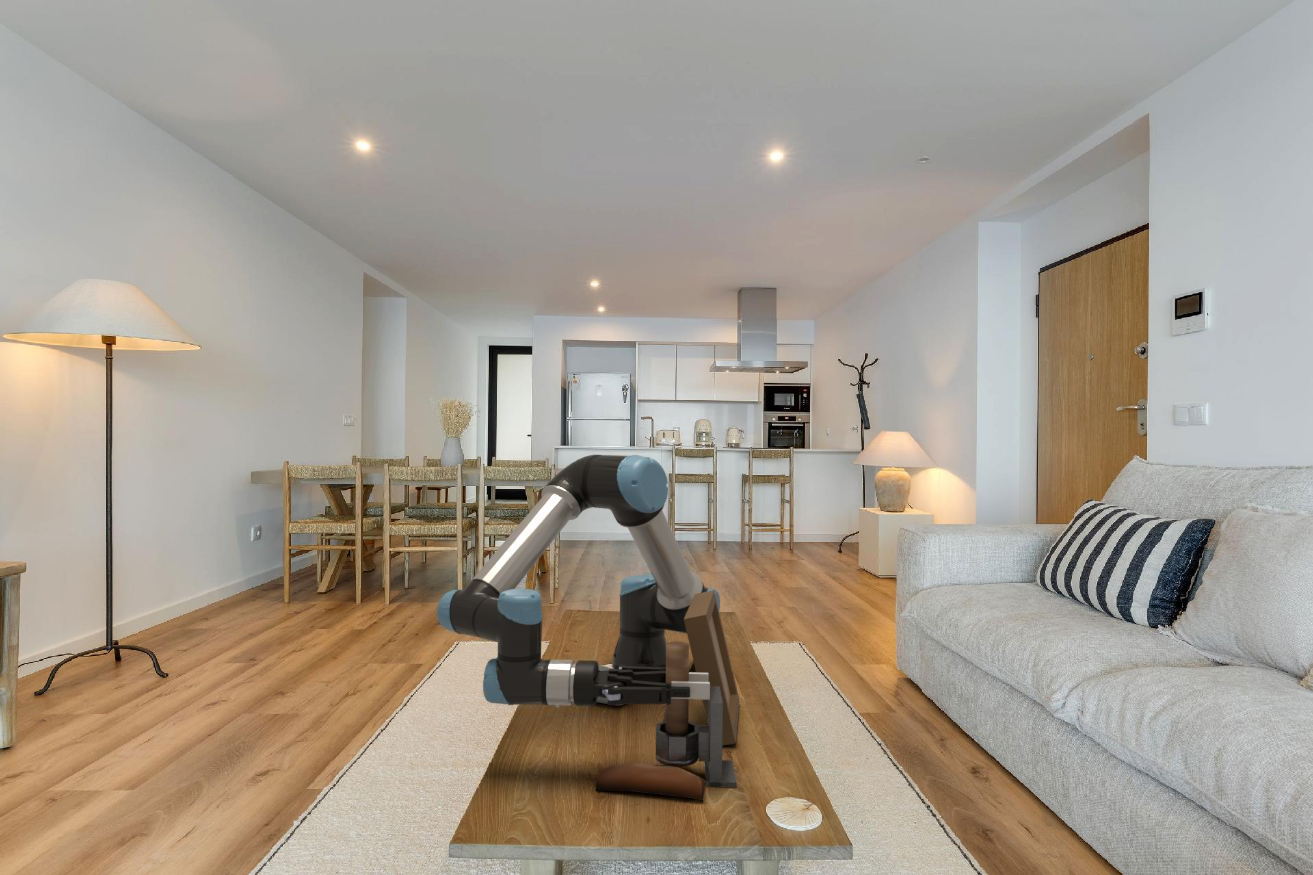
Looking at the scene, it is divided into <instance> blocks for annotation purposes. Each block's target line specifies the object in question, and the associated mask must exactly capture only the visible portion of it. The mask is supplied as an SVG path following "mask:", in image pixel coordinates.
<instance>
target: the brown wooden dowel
mask: <svg viewBox="0 0 1313 875" xmlns="http://www.w3.org/2000/svg"><path fill="white" fill-rule="evenodd" d="M689 666H690V644H689V642H688V643H687V642H685V641H669V642H667V644H666V683H669V684H671V686H672V681H686V682H689ZM689 701H690V699H671V704H669V705H667V703H666V704H665V709H666V719H665V733H666V734H668V735H676V736H685V735H688V721H690V720H689V716H690V715H689V714H690V713H689V708H690V707H689V706H690V705H689V704H690V703H689Z"/></svg>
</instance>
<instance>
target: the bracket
mask: <svg viewBox="0 0 1313 875" xmlns="http://www.w3.org/2000/svg"><path fill="white" fill-rule="evenodd" d="M722 725H723V702H722V696H721V691H720V686H710V700H708V722H707V724H698V723H695V722H692V721H690V720H689V721H688V735H685V736H676V735H668V734H666V733H665V721H660V722H658V723H656V725H655V760H656V761H657V762H658V763H660V765H666V766H674V767H678V768H684V767H690V766H692V765H694V764H695V763H698V762H700V763H704V764H705V765H704V774H705V786H706V787H707V788H737V786H738V784H737V783H738V782H737V778H736V773H735V766H734V761H733V760H726V759H723V745H722Z"/></svg>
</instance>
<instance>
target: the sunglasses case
mask: <svg viewBox="0 0 1313 875" xmlns="http://www.w3.org/2000/svg"><path fill="white" fill-rule="evenodd" d="M704 781H705V782H704ZM705 789H706V779H704V778H702V777H701V776H699V775H696V774H695V773H692V772H690V771H687V770H686V769H683V768H682V767H674V766H666V765H663V764H658V763H645V762H624V763H618V764H613V765H609V766H605V767H603V768H602V769H601V770H599V772H598V773H597V776H596V779H595V791H606V792H637V793H644V794H650V795H653V794H654V795H664V796H670V797H678V798H679V797H680V798H688V799H694V800H701V801H702V802H704V799H705V798H704V796H705Z"/></svg>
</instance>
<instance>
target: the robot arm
mask: <svg viewBox="0 0 1313 875" xmlns="http://www.w3.org/2000/svg"><path fill="white" fill-rule="evenodd" d="M666 474H667V473H666V472H665V469H664V467H663V466H662V465H661V463H660V462H658V461H657V460H656V459H654V458H653V457H649V456H643V455H639V454H632V455H617V454H616V455H614V454H607V455H606V454H590V455H586V456H583V457H581V458H578V459H576V460H575V461H573V462H572V463H570V464H568V465H566V466H565V467H564V468H563V469H562V470H560V471H559V472H558V473H557V474H555V475H554V476H553V478H552V479H551V480H549V481H548V483H547V484H546V485H545V487H543V489H542V491H541V495H540V496H541V498H540V499H539V501H538V502H537V503H536V504H535V505H534V506H533V508H532V509H530V511H529V512H528V513H527V514H526V516H525V517H524V518H523V519H522V521H520V523H519V524H518V525H517V526H516V528H515V529H514V530H513V531H512V532H511V533H510V534H509V536H508V537H507V538H506V539H505V541H504V542H503V543H502V544H501V545H500V546H499V547H498V549H496V551H495V552H494V553H493V554H492V556H491V557H490V558H489V559H488V561H486V563H485V564H484V565H483V566H482V567H481V569H480V570H479V571H478V572H477V573H476V575H475V576H474V577H473V578H472V579H471V581H470V582H469V583H468V584H467V585H466V586H465V587H464V589H452V590H449V591H448V592H446V593H445V594H443V596H442V597H441V598H440V600H439V602H438V605H437V608H436V618H437V621H438V623H439V625H440V626H441V627H442V628H444V629H445V630H448V631H449V632H453V633H455V634H458V635H465V636H470V637H475V638H479V639H482V640H485V641H486V640H487V641H492V642H493V643H497V657H495V658H490V659H488V661H487V663H486V665H485V668H484V672H483V680H482V692H483V697H484V699H485V700H486V701H487V702H489V703H491V704H498V705H499V704H500V705H507V706H514V705H516V706H517V705H519V706H520V705H524V706H525V705H526V706H529V705H531V706H533V705H535V706H536V705H538V706H555V708H556V709H559V708H561V706H571V705H572V704H574V706H576V707H596V704H597V703H598V702H597V698H598V697H603V698H608V704H607V705H608V706H615V705H617V704H624V705H666V703H667V705H669V704H671V699H689V700H702V699H708V700H710V682H708V679H709V674H708V673H695V672H689V682H686V681H672V686H671V684H669V683H666V644H667V643H668V642H667V640H666V636H665V634H666V632H665V631H671V632H676V633H679V634H680V633H681V634H685V635H687V631H686V626H685V622H684V618H685V615H686V613H687V611H688V609H689V606H690V604H691V602H692V600H693V597H694V595H695V594H698V593H703V592H708V591H713V590H714V592H715V597H716V601H717V605H718V610H719V611H720V610H721V609H720V608H721V597H720V593H719V592H718V590H717V589H715V588H712V587H710V586H709V587H706V586H705V585H704V583H703V582H704V581H703V580H702V578H701V576H699V575H698V574H697V573H696V572H694V571H691V569H690V567H689V565H688V563H687V561H686V559H685V556H684V554H683V552H682V550H681V548H680V546H679V544H678V541H677V539H676V537H675V535H674V532H673V531H672V528H671V526H670V524H669V522H668V519H667V518H666V516H665V514H664V511H663V510H664V508H665V505H666V501H667V499H668V495H669V487H667V484H668V483H669V482H668V476H667V475H666ZM592 508H594V509H595V508H596V509H604V510H605V509H606V510H610V512H611V513H612V514H613V517H614V519H615V521H616V522H617V524H619V525H620V526H621V527H623V528H628V531H629V533H630V534H631V537H632V538H633V541H634V542H635V545H636V547H637V548H638V551H639V553H640V555H641V556H642V558H643V560H644V562H645V564H646V566H647V568H648V570H649V572H650V573H646V574H637V575H631V576H628V577H624V578H623V579H622V580H621V583H620V591H619V636H618V639H617V642H616V645H615V647H614V652H613V655H612V657H611V658H612V659H611V660H612V664H611V665H612V669H609V670H606V671H599V665H600V664H599V662H598V661H597V660H588V659H587V660H582V659H581V660H578V661H576V663H575V660H574V659H543V658H542V643H543V642H542V640H543V639H542V636H543V632H542V631H543V617H544V616H543V610H542V606H543V605H542V596H541V594H540V592H538V591H537V590H534V589H531V588H517V587H518V585H519V584H520V583H521V582H522V580H524V578H525V577H526V576H527V574H528V573H529V572H530V571H531V569H532V568H533V566H534V565H535V564H536V563H537V561H538V560H539V559H540V558H541V556H542V555H543V554H544V553H545V551H546V550H547V549H548V548H549V546H550V545H551V544H552V543H553V542H554V540H555V539H556V537H557V536H558V535H559V534H560V532H561V531H562V530H563V529H564V528H565V527H566V525H567V524H568V522H570V521H573V520H575V519H578V517H579V516H580V515H581V513H583V512H584V511H586V510H588V509H592ZM613 667H614V668H613Z"/></svg>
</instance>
